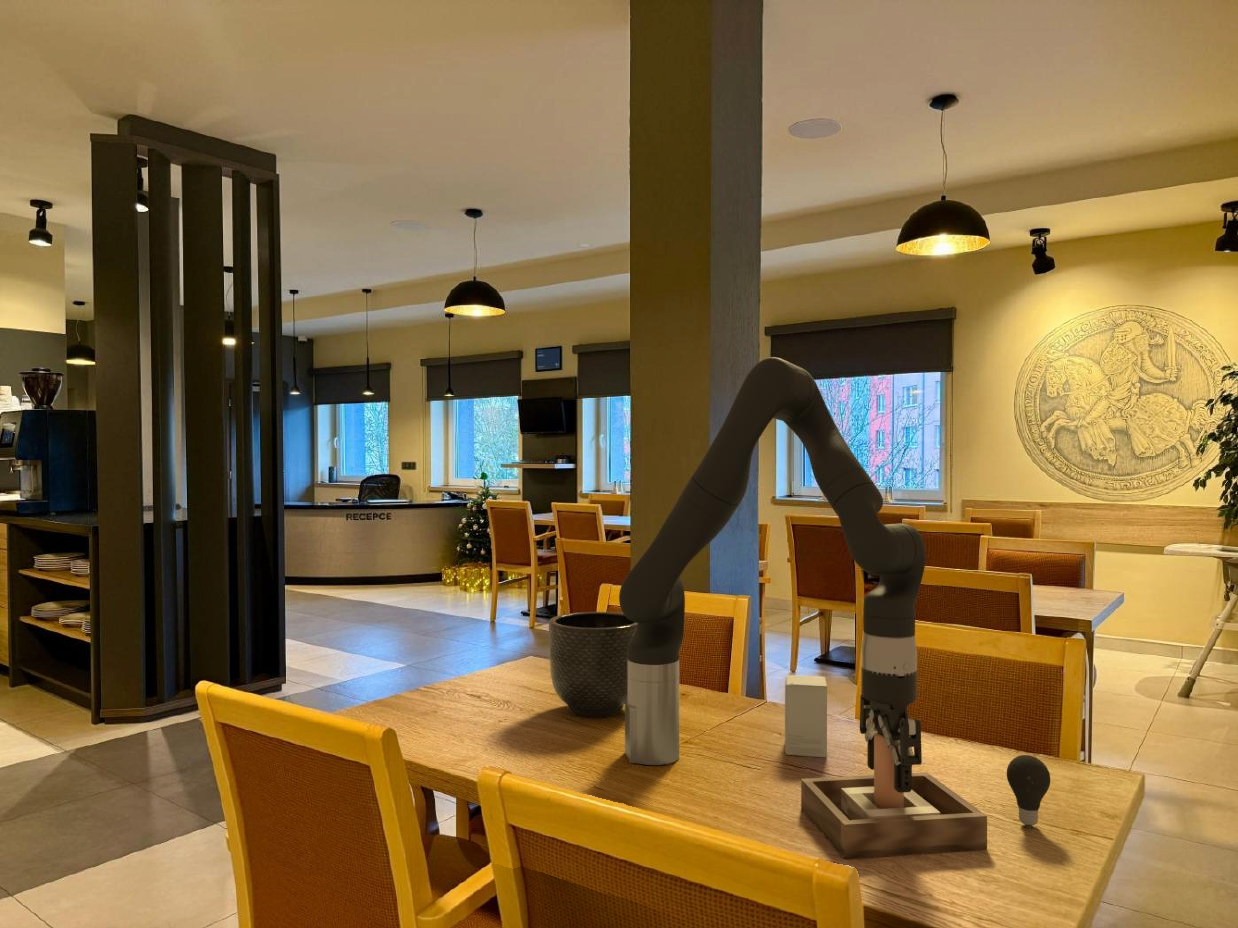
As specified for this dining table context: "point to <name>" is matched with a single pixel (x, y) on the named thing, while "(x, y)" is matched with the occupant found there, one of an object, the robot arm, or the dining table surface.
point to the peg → (885, 776)
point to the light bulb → (1028, 786)
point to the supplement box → (806, 716)
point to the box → (892, 818)
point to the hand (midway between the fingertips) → (888, 779)
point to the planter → (590, 661)
